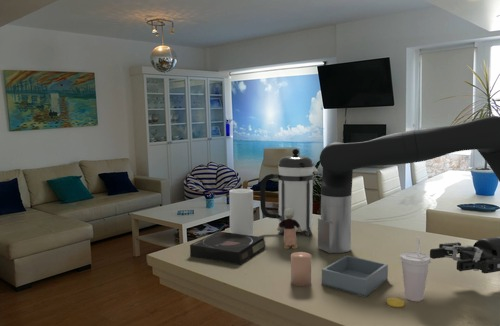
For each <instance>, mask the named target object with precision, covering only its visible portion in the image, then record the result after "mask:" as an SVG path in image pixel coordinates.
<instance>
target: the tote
mask: <svg viewBox="0 0 500 326" xmlns="http://www.w3.org/2000/svg"><path fill="white" fill-rule="evenodd" d="M388 272H389V264H388V263H384V262H379V261H375V260H371V259H364V258H361V257H356V256H352V255H345V256H343V257H341V258H339V259H337V260H336V261H334V262H332V263H331V264H329V265H327V266H325V267H323V268H322V269H321V286H324V287H327V288H331V289H335V290H337V291H342V292H345V293H349V294H353V295H357V296H360V297H364V298H366V297H367V296H368V295H370V294H371V293H373V291H375V290H376V289H377V288H379V287H380V286H381V285H384V283H385V282H386V281H388V274H389V273H388Z"/></svg>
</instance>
